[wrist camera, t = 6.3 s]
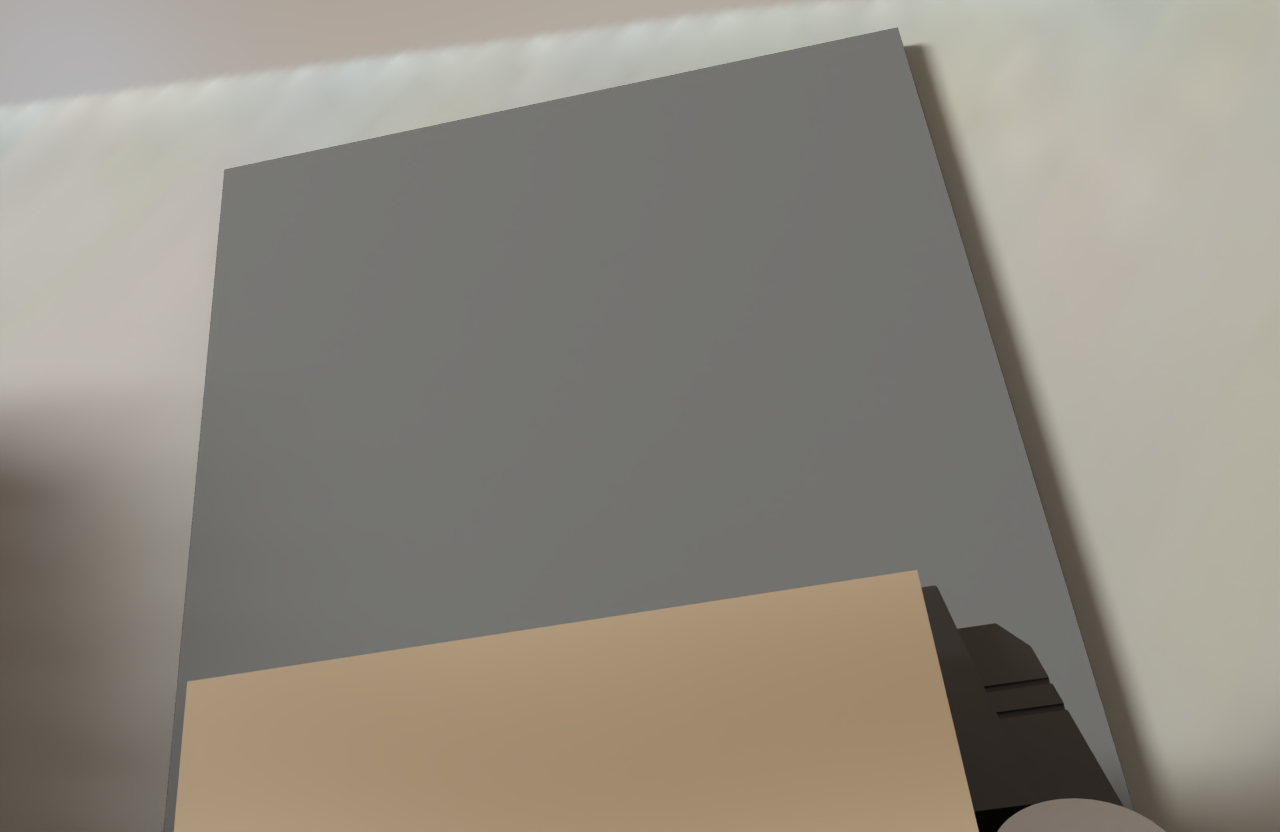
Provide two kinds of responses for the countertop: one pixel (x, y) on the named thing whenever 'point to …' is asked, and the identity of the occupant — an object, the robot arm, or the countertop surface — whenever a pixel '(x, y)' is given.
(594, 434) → the mat
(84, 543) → the countertop surface
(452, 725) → the wooden block
